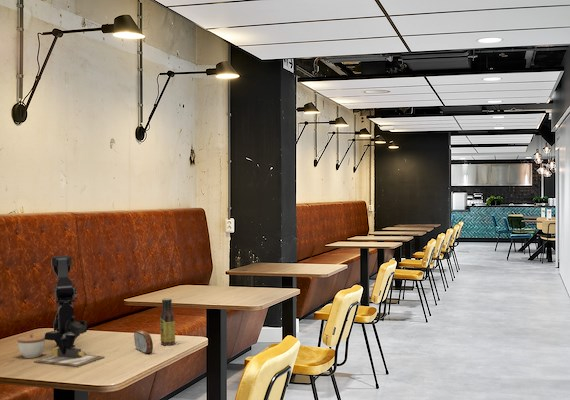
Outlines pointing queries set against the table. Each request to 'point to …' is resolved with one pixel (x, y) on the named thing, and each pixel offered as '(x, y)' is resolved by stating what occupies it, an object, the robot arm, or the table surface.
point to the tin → (143, 341)
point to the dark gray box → (68, 352)
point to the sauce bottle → (167, 323)
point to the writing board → (69, 360)
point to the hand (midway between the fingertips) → (66, 353)
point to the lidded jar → (31, 345)
